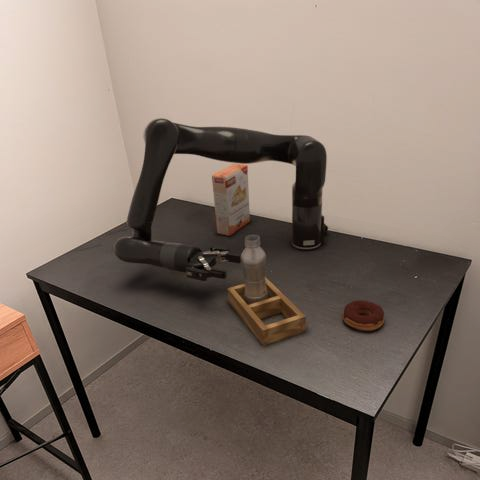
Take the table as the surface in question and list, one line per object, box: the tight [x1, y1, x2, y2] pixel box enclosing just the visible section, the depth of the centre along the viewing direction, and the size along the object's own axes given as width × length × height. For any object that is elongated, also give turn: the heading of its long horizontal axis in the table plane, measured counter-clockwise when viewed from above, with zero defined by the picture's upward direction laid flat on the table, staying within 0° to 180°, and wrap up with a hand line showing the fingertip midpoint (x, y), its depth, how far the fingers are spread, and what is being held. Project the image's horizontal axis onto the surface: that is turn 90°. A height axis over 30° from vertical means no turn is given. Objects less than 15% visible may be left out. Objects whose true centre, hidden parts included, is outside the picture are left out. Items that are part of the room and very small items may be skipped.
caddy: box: [227, 276, 307, 346], centre depth 115 cm, size 11×21×4 cm, turn 24°
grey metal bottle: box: [240, 234, 269, 305], centre depth 115 cm, size 6×7×20 cm
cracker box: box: [211, 163, 251, 237], centre depth 157 cm, size 14×6×21 cm, turn 148°
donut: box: [342, 299, 385, 332], centre depth 111 cm, size 10×10×4 cm
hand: (233, 266), depth 117 cm, fingers open, 8 cm apart
